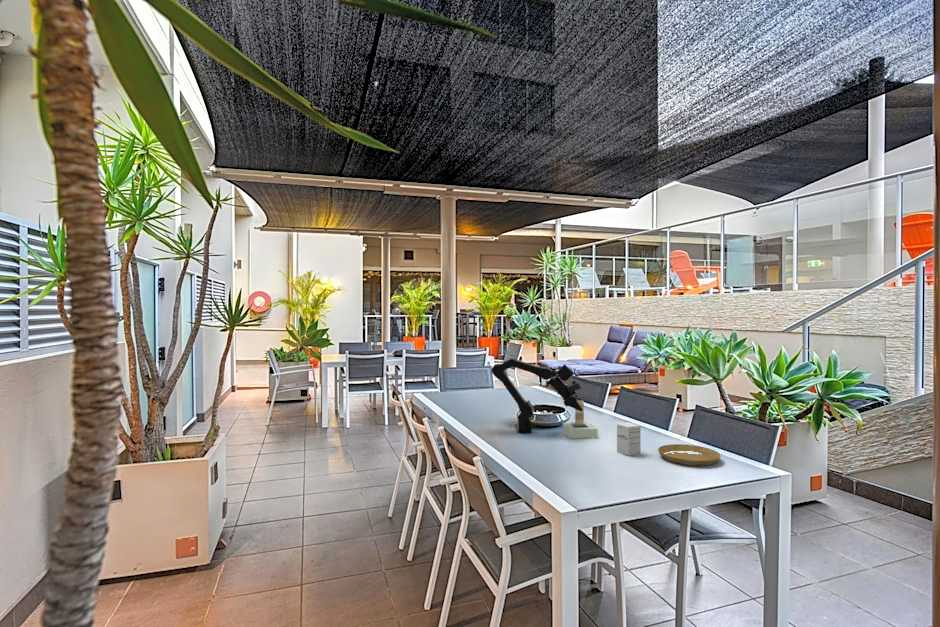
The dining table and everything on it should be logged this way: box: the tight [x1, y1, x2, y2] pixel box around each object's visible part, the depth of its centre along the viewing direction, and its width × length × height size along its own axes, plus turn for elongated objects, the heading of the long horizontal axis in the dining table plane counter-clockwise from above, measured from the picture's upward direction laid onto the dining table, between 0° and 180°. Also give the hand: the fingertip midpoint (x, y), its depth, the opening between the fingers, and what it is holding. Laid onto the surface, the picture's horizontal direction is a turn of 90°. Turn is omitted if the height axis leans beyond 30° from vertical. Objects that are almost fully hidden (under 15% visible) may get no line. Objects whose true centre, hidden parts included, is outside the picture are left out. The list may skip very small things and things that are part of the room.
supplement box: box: [616, 421, 642, 457], centre depth 215 cm, size 7×7×13 cm
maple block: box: [574, 399, 585, 424], centre depth 246 cm, size 4×4×11 cm
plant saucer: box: [657, 443, 722, 466], centre depth 206 cm, size 24×24×3 cm
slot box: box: [562, 421, 599, 439], centre depth 246 cm, size 14×14×4 cm
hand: (582, 409), depth 246 cm, fingers closed on maple block, 4 cm apart
